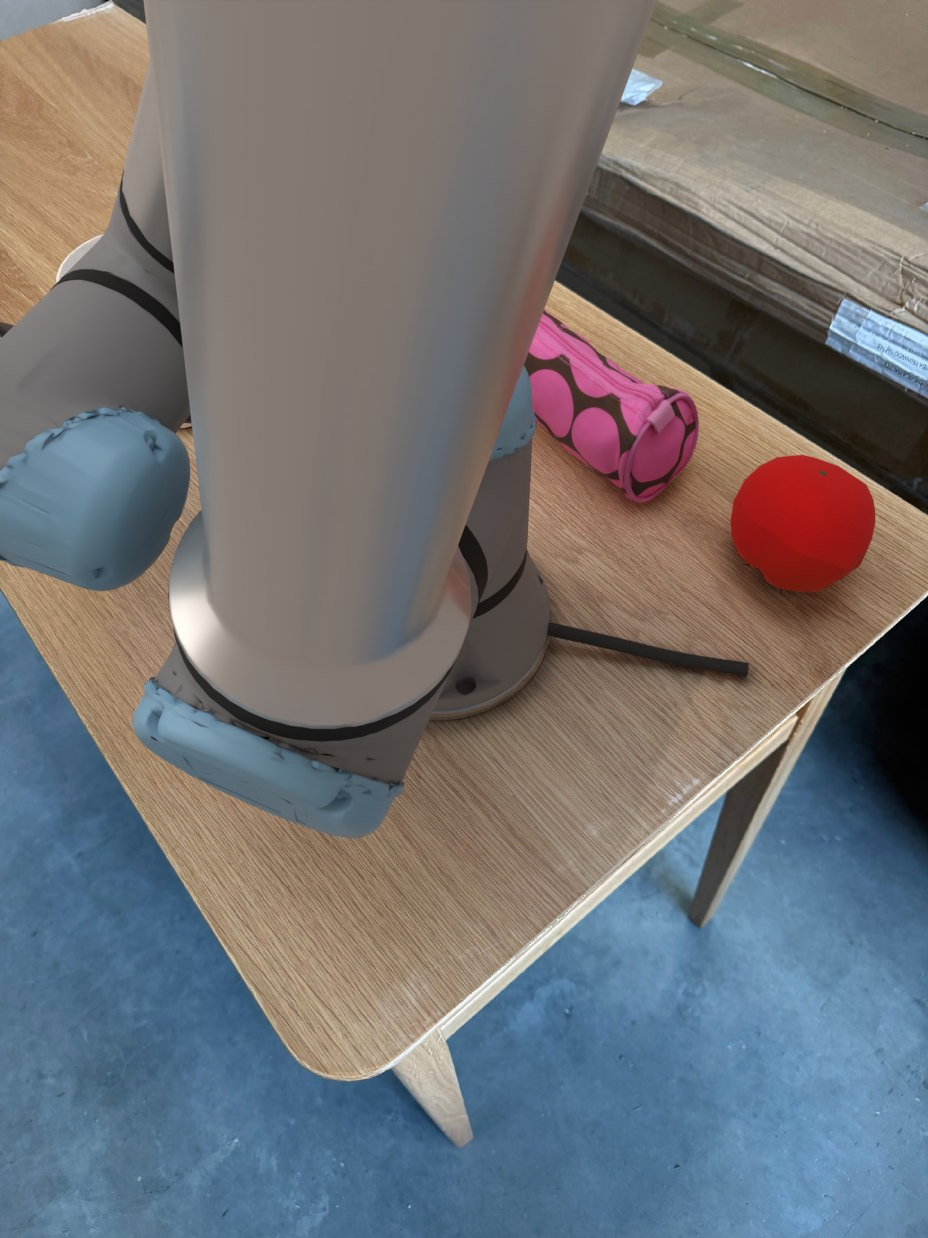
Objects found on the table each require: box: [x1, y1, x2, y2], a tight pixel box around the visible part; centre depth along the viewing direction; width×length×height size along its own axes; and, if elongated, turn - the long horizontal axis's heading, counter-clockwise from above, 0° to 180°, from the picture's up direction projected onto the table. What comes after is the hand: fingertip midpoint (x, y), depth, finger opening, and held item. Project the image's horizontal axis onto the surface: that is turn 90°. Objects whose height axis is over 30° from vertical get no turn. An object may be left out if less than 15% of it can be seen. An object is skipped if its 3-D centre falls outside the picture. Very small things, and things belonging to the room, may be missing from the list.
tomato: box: [729, 454, 876, 595], centre depth 58 cm, size 9×10×8 cm
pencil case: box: [524, 309, 700, 504], centre depth 66 cm, size 21×10×10 cm, turn 40°
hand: (147, 408), depth 64 cm, fingers open, 13 cm apart
